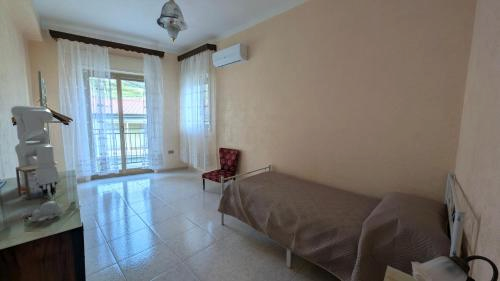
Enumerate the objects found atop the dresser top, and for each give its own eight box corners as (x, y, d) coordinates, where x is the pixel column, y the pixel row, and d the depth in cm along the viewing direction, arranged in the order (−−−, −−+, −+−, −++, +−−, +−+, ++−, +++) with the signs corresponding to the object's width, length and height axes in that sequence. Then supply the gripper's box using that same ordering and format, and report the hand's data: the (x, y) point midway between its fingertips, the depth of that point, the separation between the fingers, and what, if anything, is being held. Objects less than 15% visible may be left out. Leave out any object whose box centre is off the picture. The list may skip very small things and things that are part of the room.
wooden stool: (18, 195, 138) (15, 167, 136) (46, 189, 151) (44, 163, 149) (27, 199, 132) (24, 170, 130) (56, 192, 144) (53, 165, 142)
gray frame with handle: (25, 195, 138) (24, 180, 136) (46, 190, 147) (45, 176, 146) (39, 201, 129) (37, 185, 127) (60, 196, 138) (59, 180, 137)
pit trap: (16, 191, 145) (16, 189, 145) (36, 187, 154) (36, 185, 154) (22, 194, 140) (22, 192, 140) (42, 189, 149) (42, 187, 149)
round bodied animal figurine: (36, 223, 109) (26, 210, 107) (64, 209, 115) (55, 196, 113) (33, 229, 104) (22, 215, 101) (63, 214, 110) (53, 200, 107)
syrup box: (36, 196, 136) (33, 174, 135) (30, 195, 138) (27, 173, 137) (46, 193, 142) (44, 172, 140) (41, 192, 144) (39, 171, 142)
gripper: (59, 162, 140) (61, 189, 142) (25, 167, 126) (28, 197, 128) (65, 163, 137) (67, 191, 139) (30, 169, 122) (33, 199, 125)
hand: (48, 194), depth 133 cm, fingers closed on gray frame with handle, 2 cm apart
